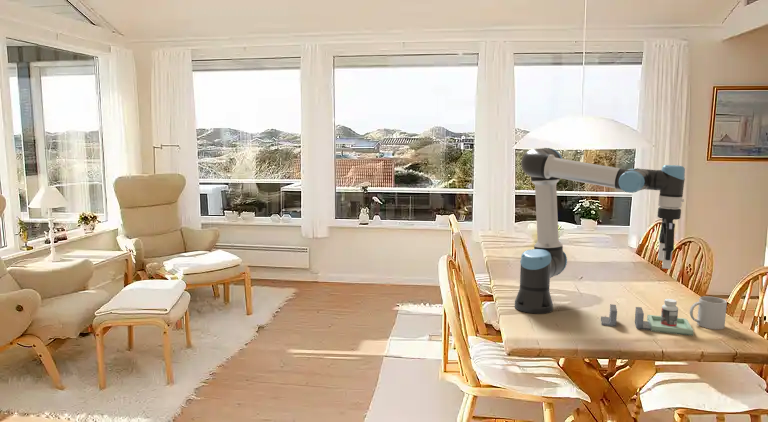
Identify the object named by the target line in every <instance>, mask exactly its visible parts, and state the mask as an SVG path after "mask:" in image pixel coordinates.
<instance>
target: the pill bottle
mask: <svg viewBox="0 0 768 422" xmlns="http://www.w3.org/2000/svg"><path fill="white" fill-rule="evenodd" d="M663 302H664V303H663V304H662V305H661V314H660V316H661V325H662V326H666V327H677V318H679V316H678V315H679V307H678V306H677V303H678V301H677V300H676V299H673V298H665V299H664V301H663Z"/></svg>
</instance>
